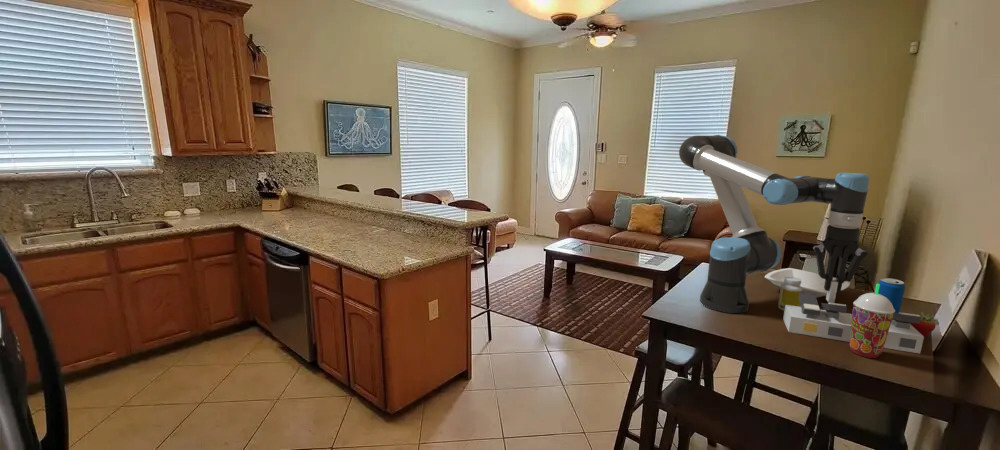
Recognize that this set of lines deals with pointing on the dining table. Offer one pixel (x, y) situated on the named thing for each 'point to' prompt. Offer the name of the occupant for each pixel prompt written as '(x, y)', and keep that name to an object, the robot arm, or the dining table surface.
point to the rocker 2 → (834, 307)
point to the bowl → (802, 280)
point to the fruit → (924, 325)
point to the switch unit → (849, 328)
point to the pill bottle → (790, 292)
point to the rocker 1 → (809, 304)
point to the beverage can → (892, 291)
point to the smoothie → (870, 324)
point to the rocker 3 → (907, 317)
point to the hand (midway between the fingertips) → (830, 300)
